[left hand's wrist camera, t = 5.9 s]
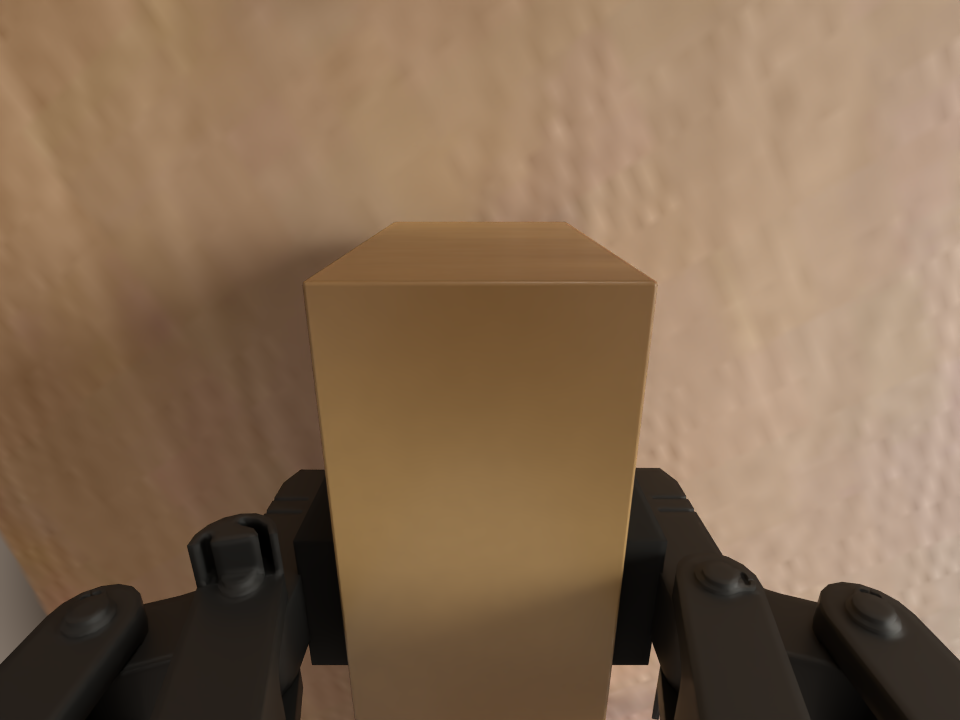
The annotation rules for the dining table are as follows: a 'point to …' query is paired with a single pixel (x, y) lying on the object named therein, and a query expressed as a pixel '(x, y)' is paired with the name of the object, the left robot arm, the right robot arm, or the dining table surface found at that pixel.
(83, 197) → the dining table surface
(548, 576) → the post
